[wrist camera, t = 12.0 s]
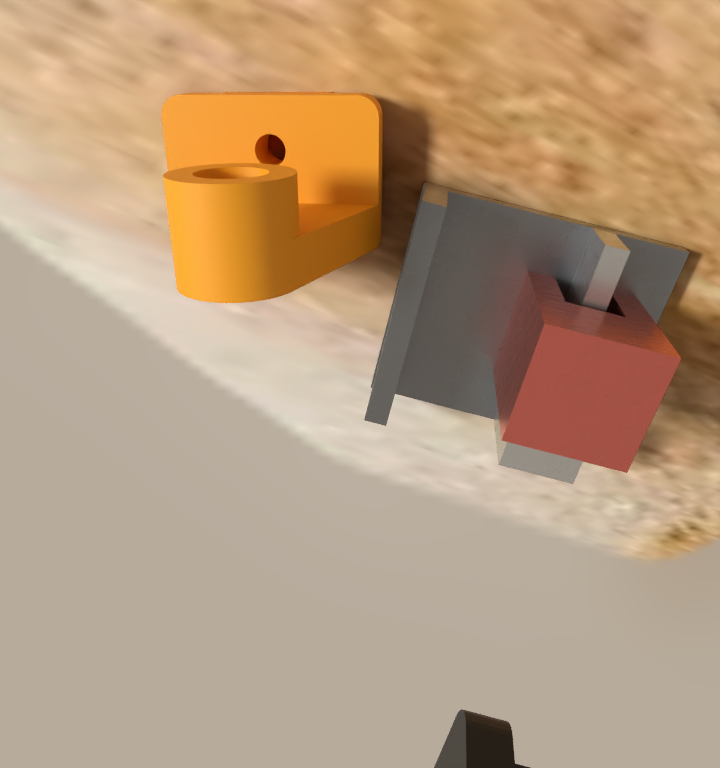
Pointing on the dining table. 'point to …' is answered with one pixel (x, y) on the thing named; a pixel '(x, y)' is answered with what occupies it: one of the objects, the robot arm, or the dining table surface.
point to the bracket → (270, 189)
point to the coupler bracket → (498, 300)
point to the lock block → (580, 375)
